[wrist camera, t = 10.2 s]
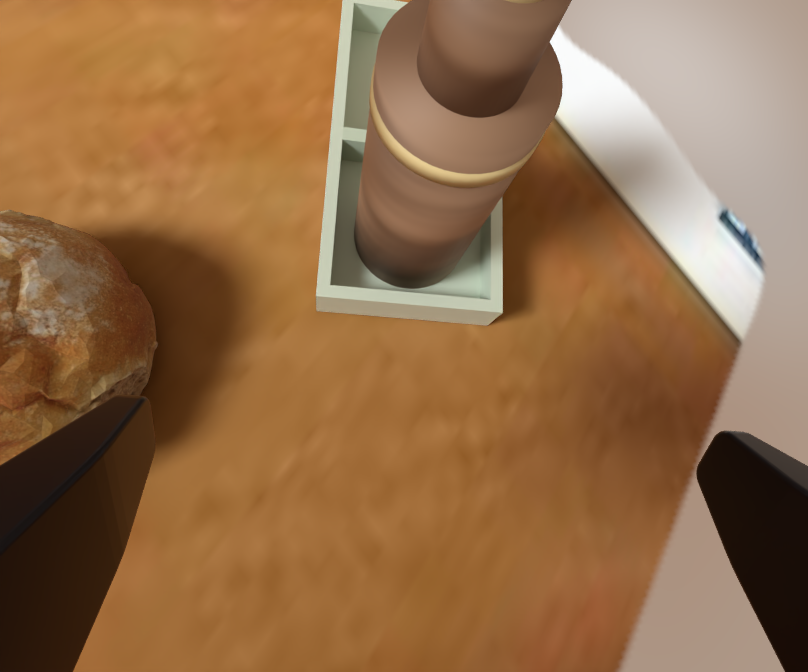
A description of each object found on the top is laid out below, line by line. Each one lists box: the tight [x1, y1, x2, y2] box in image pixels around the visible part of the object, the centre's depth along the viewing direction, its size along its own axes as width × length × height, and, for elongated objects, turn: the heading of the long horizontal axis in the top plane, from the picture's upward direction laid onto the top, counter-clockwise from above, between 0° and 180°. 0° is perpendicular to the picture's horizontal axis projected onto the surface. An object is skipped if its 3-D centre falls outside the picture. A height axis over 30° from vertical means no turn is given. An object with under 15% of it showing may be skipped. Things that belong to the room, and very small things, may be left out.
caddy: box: [316, 0, 503, 326], centre depth 23 cm, size 14×7×2 cm, turn 177°
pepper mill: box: [354, 0, 572, 289], centre depth 16 cm, size 5×5×14 cm
